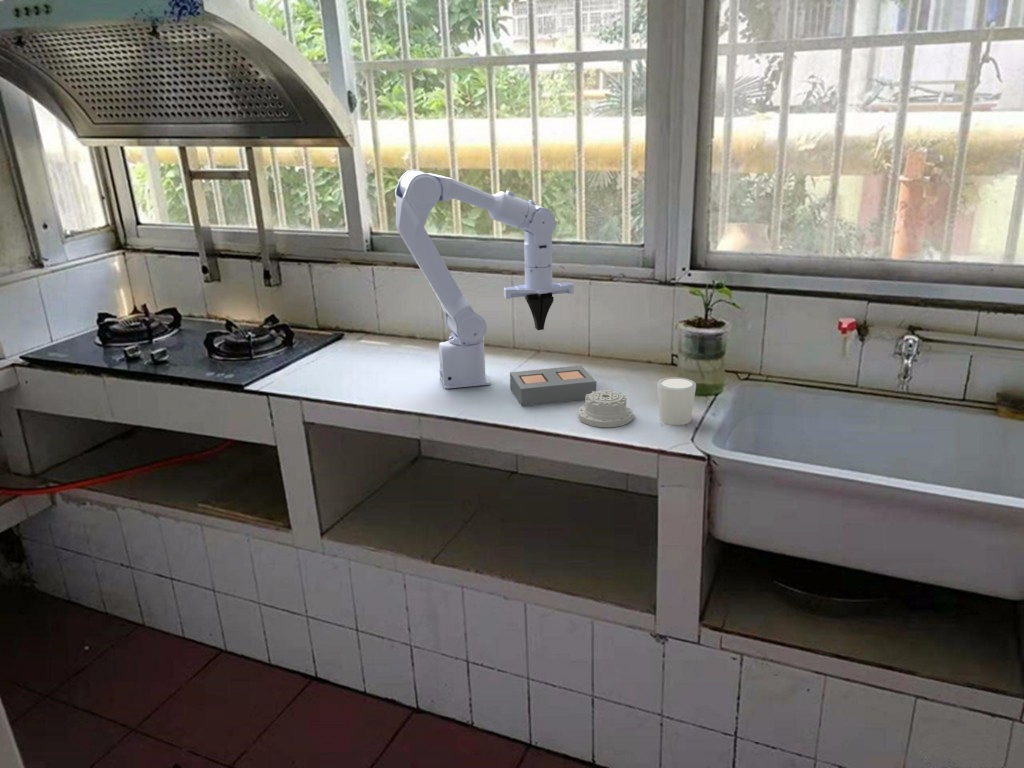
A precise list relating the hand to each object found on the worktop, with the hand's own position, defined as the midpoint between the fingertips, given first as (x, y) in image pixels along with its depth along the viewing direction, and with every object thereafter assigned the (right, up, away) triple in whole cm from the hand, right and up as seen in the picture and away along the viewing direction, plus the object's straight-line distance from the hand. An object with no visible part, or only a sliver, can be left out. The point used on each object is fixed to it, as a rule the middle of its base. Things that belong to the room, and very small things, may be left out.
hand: (539, 328), depth 169 cm
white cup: (+24, -18, -24) cm, 38 cm away
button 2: (+6, -13, -9) cm, 17 cm away
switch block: (+2, -13, -10) cm, 17 cm away
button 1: (-1, -14, -11) cm, 17 cm away
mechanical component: (+11, -18, -22) cm, 31 cm away
